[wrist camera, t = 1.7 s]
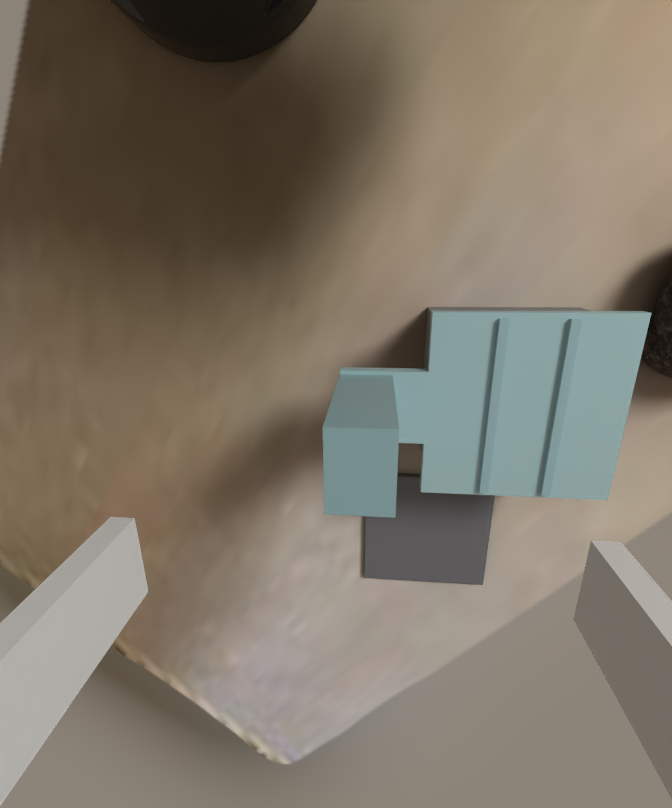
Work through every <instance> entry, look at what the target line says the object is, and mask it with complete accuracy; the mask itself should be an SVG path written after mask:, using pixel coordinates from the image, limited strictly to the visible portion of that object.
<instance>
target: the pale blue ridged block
mask: <svg viewBox="0 0 672 808" xmlns="http://www.w3.org/2000/svg"><path fill="white" fill-rule="evenodd" d="M650 317H651V313H650V312H645V311H438V310H431V317H430V332H429V348H428V363H427V369H426V368H359V367H341V369H340V375H339V378H338V381H337V384H336V387H335V391H334V394H333V397H332V400H331V403H330V406H329V409H328V412H327V415H326V418H325V421H324V424H323V472H324V514H329V515H351V516H372V517H393V518H395V516H396V494H397V471H398V449H399V443H416V444H422V456H421V471H420V491H421V492H426V493H451V494H475V495H499V496H523V497H547V498H571V499H595V500H608V496H609V492H610V488H611V483H612V479H613V475H614V471H615V466H616V462H617V458H618V454H619V449H620V445H621V441H622V437H623V432H624V428H625V424H626V420H627V415H628V411H629V407H630V402H631V398H632V394H633V390H634V385H635V381H636V377H637V373H638V368H639V364H640V360H641V356H642V351H643V347H644V343H645V339H646V334H647V330H648V326H649V322H650Z"/></svg>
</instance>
